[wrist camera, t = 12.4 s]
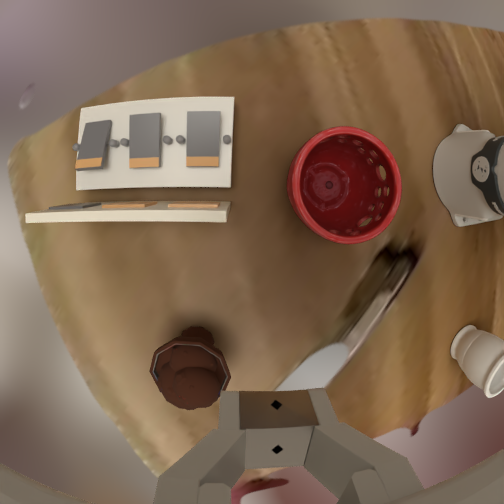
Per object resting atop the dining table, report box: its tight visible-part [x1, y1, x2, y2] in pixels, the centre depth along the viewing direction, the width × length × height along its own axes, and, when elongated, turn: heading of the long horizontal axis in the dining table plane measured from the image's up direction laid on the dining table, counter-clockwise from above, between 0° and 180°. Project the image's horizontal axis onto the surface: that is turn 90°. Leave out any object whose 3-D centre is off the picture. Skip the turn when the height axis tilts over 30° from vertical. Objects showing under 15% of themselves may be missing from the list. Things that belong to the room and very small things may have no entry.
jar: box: [451, 325, 504, 398], centre depth 42 cm, size 11×10×15 cm
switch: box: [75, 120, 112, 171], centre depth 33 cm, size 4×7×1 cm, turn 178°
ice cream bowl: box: [150, 326, 231, 410], centre depth 38 cm, size 11×11×15 cm
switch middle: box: [129, 113, 161, 169], centre depth 33 cm, size 4×7×1 cm, turn 178°
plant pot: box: [287, 126, 402, 244], centre depth 35 cm, size 13×13×12 cm
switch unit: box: [26, 97, 234, 223], centre depth 31 cm, size 22×15×16 cm
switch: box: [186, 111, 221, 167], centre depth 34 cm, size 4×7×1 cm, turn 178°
